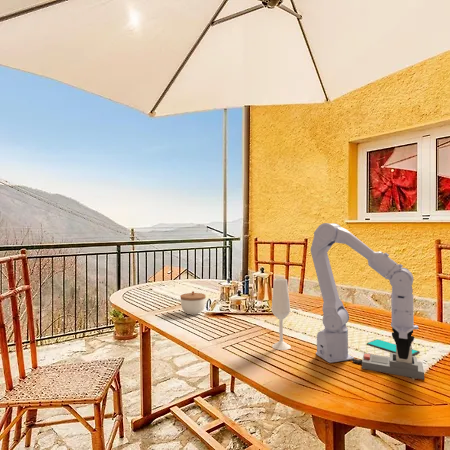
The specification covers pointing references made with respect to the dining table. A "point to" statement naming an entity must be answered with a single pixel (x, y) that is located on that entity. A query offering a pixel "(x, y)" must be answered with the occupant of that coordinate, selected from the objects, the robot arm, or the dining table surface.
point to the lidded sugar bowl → (193, 302)
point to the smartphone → (387, 346)
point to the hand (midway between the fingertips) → (403, 355)
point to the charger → (405, 359)
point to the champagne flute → (280, 308)
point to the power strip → (392, 365)
